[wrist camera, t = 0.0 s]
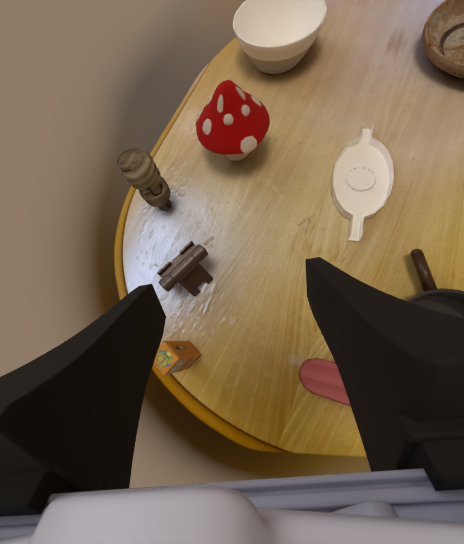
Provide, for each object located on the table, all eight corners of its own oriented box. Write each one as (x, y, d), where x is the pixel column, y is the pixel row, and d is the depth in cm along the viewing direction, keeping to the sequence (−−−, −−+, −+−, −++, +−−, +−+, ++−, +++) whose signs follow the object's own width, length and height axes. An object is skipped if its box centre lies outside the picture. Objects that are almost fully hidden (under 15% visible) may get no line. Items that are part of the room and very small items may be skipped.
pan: (525, 400, 34) (553, 405, 30) (401, 411, 35) (414, 418, 32) (475, 286, 39) (494, 281, 35) (368, 301, 40) (377, 297, 37)
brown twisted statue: (186, 202, 51) (153, 147, 37) (171, 224, 50) (132, 175, 36) (164, 193, 53) (125, 136, 39) (150, 213, 52) (105, 162, 38)
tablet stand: (195, 244, 48) (180, 223, 40) (222, 270, 46) (212, 254, 38) (161, 275, 47) (139, 261, 39) (187, 304, 45) (169, 295, 37)
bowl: (264, 23, 64) (263, -22, 56) (334, 40, 59) (344, -7, 51) (222, 74, 61) (215, 34, 53) (292, 98, 55) (296, 56, 47)
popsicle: (409, 424, 33) (297, 389, 37) (403, 421, 35) (296, 388, 38) (412, 383, 35) (303, 353, 38) (406, 381, 36) (302, 353, 39)
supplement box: (174, 355, 42) (147, 357, 33) (189, 340, 43) (165, 338, 33) (187, 370, 41) (163, 376, 32) (202, 354, 42) (181, 356, 32)
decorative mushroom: (281, 166, 50) (285, 95, 36) (218, 192, 51) (198, 131, 37) (255, 119, 55) (250, 40, 41) (198, 143, 55) (173, 73, 41)
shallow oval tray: (393, 130, 49) (397, 122, 47) (384, 245, 43) (389, 240, 41) (338, 127, 51) (341, 119, 49) (322, 236, 45) (324, 231, 43)
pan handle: (435, 296, 37) (442, 294, 36) (423, 297, 38) (430, 295, 36) (417, 250, 40) (423, 246, 38) (406, 252, 40) (412, 248, 38)
